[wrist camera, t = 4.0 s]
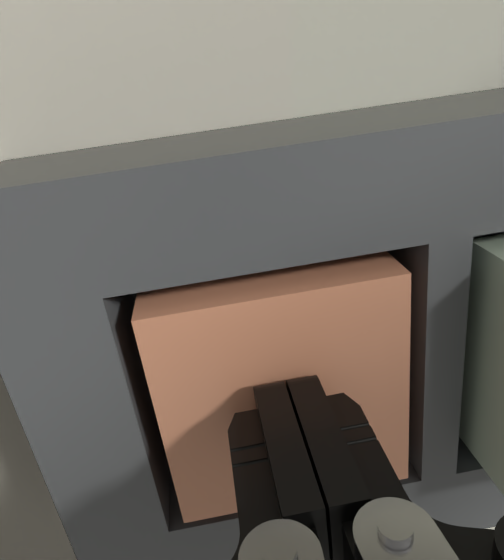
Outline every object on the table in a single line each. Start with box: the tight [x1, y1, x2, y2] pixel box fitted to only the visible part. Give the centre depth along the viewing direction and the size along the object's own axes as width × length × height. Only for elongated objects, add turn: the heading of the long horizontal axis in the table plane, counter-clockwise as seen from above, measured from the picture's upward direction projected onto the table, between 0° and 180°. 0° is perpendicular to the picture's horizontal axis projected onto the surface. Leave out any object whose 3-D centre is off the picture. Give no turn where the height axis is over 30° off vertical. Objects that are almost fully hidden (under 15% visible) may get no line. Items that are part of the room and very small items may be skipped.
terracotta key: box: [131, 251, 411, 523], centre depth 13 cm, size 6×6×3 cm
